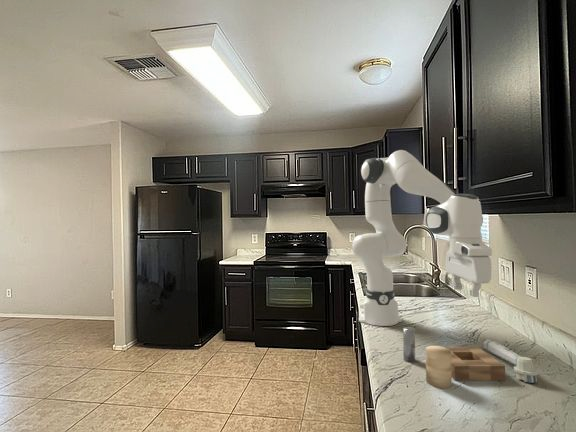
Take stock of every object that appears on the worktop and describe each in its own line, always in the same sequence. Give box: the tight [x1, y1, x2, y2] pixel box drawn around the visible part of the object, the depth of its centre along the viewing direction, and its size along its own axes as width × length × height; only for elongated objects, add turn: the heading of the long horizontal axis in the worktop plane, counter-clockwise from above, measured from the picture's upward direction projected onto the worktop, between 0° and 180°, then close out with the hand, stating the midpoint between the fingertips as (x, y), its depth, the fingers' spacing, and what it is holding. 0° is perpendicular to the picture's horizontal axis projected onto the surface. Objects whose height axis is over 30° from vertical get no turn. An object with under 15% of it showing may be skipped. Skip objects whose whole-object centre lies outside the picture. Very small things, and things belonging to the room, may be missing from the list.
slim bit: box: [402, 326, 416, 363], centre depth 110 cm, size 4×4×10 cm
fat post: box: [425, 345, 453, 389], centre depth 95 cm, size 6×6×9 cm
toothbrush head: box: [481, 338, 539, 384], centre depth 105 cm, size 5×7×25 cm
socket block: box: [444, 346, 506, 381], centre depth 103 cm, size 14×14×4 cm
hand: (466, 292), depth 103 cm, fingers open, 8 cm apart
